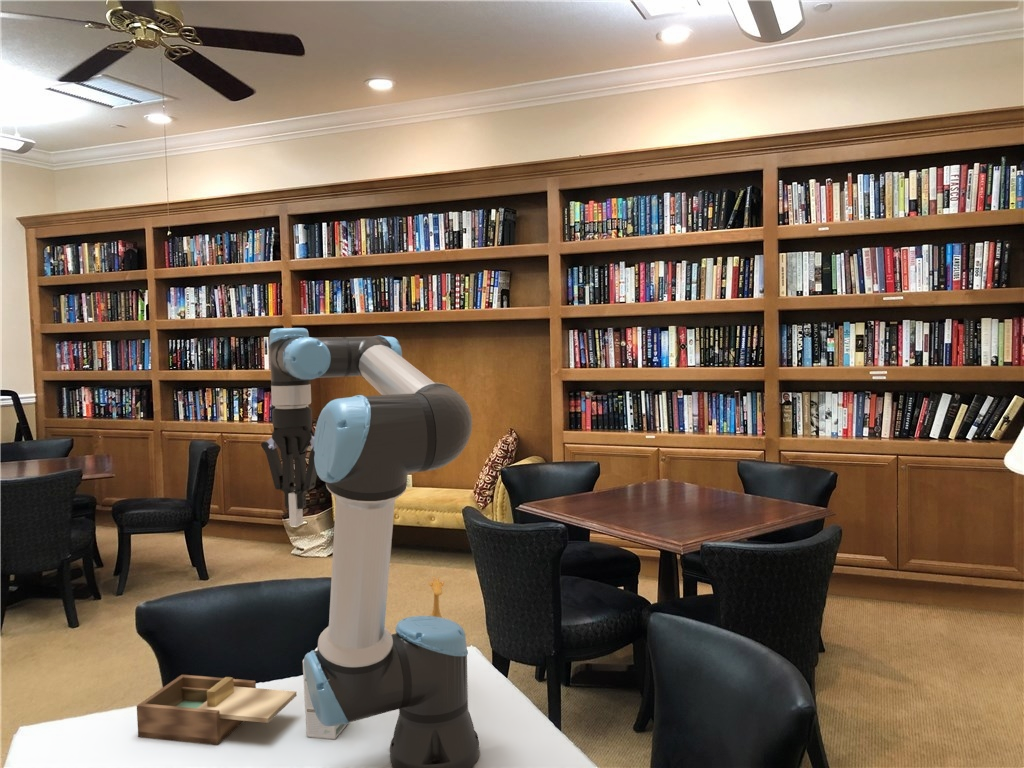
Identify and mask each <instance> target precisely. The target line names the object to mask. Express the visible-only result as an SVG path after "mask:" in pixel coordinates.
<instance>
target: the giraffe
mask: <svg viewBox="0 0 1024 768" xmlns="http://www.w3.org/2000/svg"><path fill="white" fill-rule="evenodd" d="M439 578H440V577H439V576H437V579H435V576H433V578H432V580H433V581H432V582H428V585H429V586H430V587H431V589H432V591H433V607H432V608H433V609H432V612H431V614H430V615H429V616H434V617H441V618H443V617H442V614H441V612H440V611H441V609H440V601H439V599H440V597H439V596H441V595H442V594H443V592H442V591H443V589H442V588H443V586H444V585H445V581H441V582H440V579H439Z"/></svg>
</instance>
